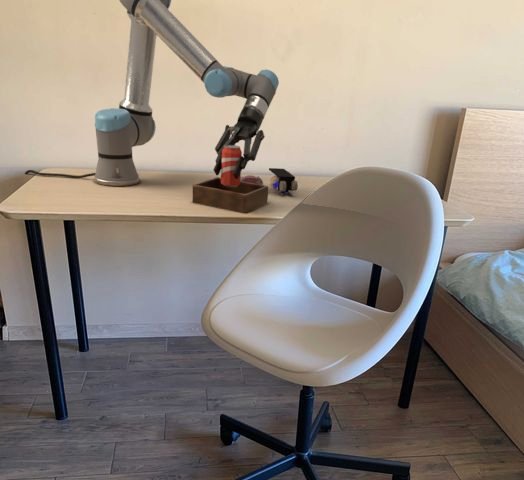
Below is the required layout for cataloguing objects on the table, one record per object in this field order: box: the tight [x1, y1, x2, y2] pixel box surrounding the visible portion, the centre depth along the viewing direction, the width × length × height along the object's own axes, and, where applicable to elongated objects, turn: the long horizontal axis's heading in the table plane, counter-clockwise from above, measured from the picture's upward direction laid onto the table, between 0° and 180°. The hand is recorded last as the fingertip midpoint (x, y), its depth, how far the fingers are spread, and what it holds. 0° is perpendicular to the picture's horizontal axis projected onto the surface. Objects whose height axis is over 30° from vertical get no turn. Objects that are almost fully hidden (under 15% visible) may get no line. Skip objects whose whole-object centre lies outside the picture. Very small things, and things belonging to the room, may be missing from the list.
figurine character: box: [268, 167, 299, 197], centre depth 184 cm, size 7×8×15 cm
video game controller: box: [240, 174, 264, 185], centre depth 182 cm, size 10×5×7 cm, turn 105°
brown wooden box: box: [191, 176, 269, 214], centre depth 167 cm, size 20×16×6 cm
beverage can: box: [220, 144, 243, 187], centre depth 162 cm, size 6×6×12 cm
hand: (225, 174), depth 161 cm, fingers closed on beverage can, 6 cm apart
